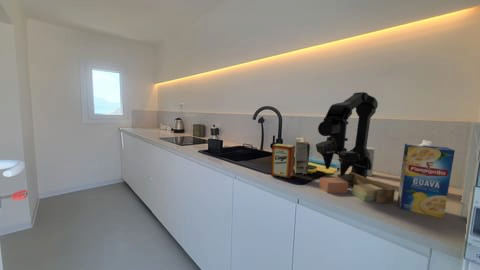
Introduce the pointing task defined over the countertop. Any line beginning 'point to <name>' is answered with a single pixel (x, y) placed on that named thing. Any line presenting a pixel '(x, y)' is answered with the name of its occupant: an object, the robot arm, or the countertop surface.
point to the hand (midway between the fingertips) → (334, 172)
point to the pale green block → (365, 192)
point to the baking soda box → (282, 160)
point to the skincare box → (371, 156)
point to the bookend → (347, 178)
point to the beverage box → (425, 179)
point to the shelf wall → (382, 194)
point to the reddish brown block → (333, 185)
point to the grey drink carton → (302, 157)
